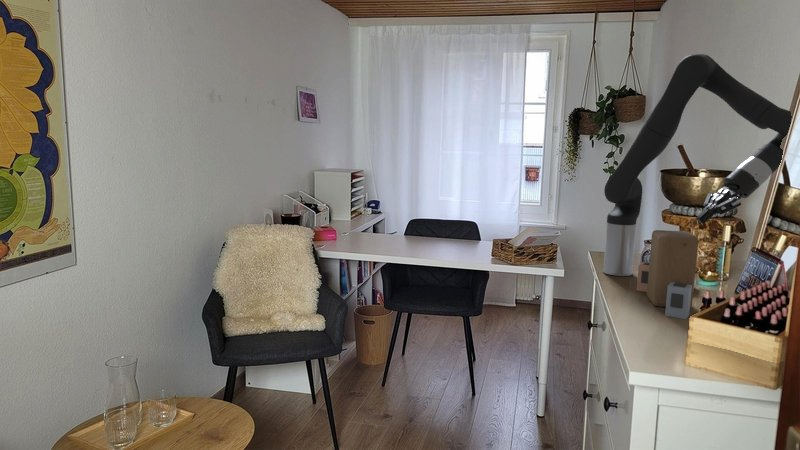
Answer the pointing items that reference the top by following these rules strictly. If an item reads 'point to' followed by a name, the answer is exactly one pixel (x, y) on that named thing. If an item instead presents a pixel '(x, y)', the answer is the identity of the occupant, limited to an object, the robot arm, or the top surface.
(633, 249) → the robot arm
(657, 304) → the wooden block
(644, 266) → the terracotta tagged block
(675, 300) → the slate tagged block
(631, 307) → the top surface
